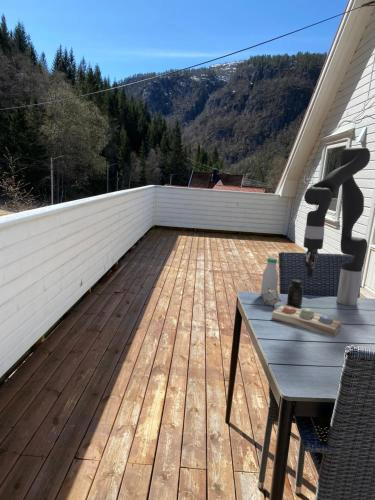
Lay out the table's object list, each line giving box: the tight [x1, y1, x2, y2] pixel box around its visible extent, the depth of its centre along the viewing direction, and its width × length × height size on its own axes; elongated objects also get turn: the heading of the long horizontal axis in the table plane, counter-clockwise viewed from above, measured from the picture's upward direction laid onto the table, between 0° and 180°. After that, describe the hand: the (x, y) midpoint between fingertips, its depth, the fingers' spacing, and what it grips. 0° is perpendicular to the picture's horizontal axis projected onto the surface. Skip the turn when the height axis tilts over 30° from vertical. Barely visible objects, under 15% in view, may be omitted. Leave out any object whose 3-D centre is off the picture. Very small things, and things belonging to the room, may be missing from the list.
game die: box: [259, 288, 282, 308], centre depth 158 cm, size 9×8×10 cm
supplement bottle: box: [286, 278, 304, 308], centre depth 161 cm, size 7×7×12 cm
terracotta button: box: [282, 305, 296, 314], centre depth 144 cm, size 5×5×3 cm
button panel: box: [271, 304, 343, 337], centre depth 140 cm, size 12×25×3 cm, turn 54°
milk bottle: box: [260, 257, 279, 298], centre depth 170 cm, size 8×8×20 cm
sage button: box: [300, 307, 315, 319], centre depth 140 cm, size 5×5×3 cm
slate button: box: [318, 314, 333, 324], centre depth 136 cm, size 5×5×3 cm
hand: (309, 276), depth 144 cm, fingers closed
